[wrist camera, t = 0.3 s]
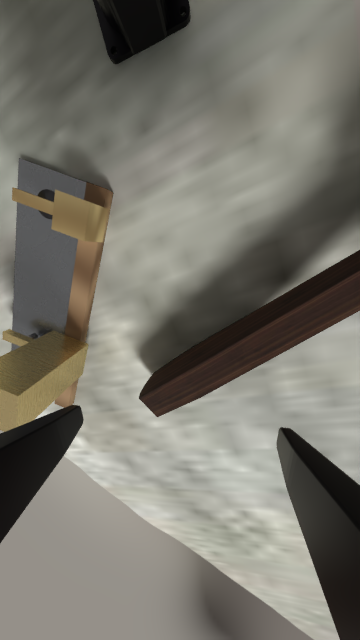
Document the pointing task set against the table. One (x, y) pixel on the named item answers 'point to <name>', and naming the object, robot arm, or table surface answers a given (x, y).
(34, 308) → the bolt strip
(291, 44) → the table surface
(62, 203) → the trammel bar
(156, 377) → the hammer
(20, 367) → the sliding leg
